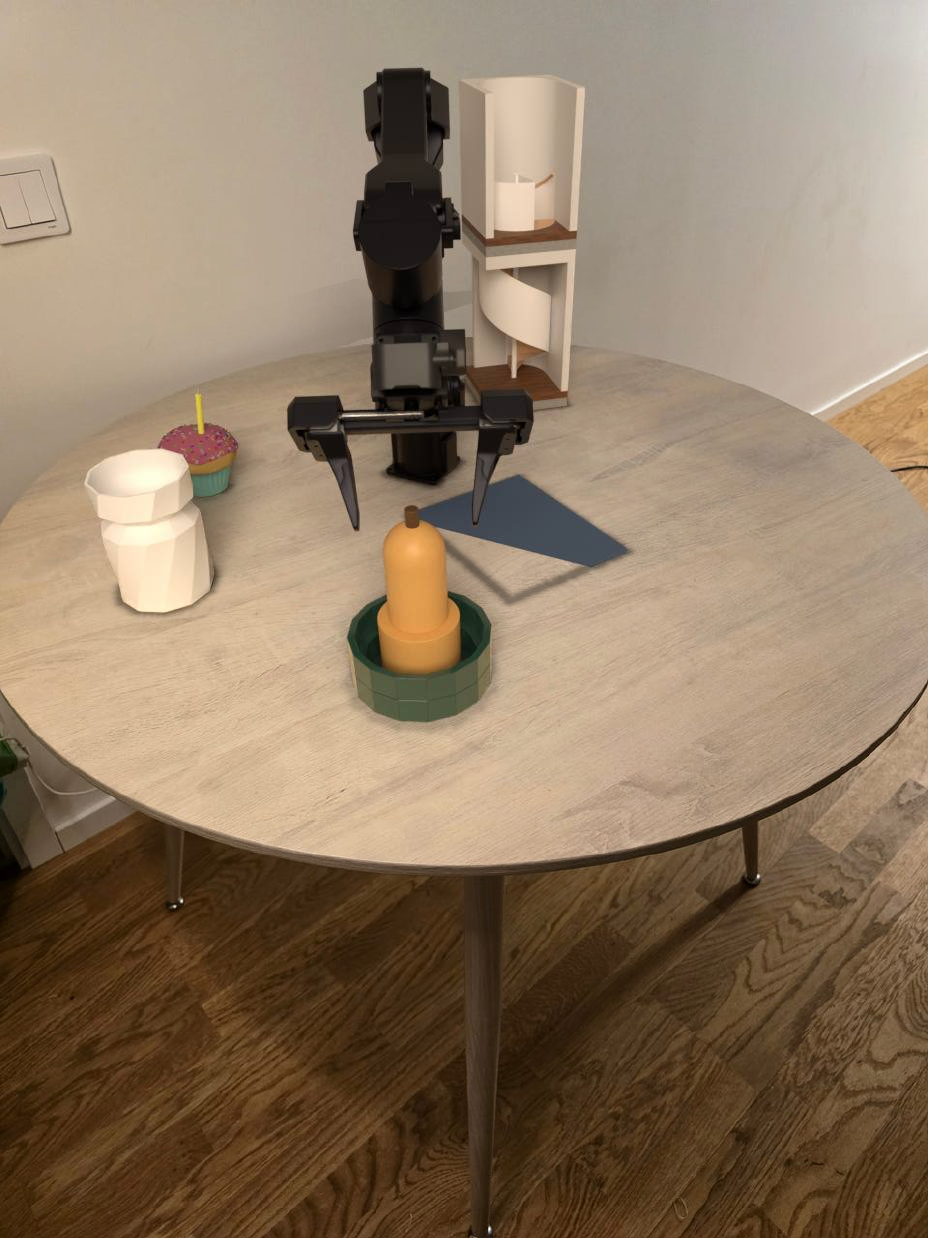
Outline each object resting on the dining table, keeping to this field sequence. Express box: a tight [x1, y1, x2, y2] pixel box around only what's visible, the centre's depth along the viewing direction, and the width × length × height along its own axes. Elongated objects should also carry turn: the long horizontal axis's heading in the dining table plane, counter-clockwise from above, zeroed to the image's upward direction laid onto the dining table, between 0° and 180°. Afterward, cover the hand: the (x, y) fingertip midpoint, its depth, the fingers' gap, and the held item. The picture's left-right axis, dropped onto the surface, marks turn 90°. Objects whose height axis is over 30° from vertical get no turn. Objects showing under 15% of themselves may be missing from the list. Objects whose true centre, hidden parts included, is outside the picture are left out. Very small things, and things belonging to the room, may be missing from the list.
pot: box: [346, 590, 493, 723], centre depth 69 cm, size 11×11×5 cm
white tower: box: [458, 73, 586, 411], centre depth 103 cm, size 11×11×35 cm
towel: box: [419, 474, 628, 568], centre depth 87 cm, size 18×14×1 cm
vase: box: [83, 448, 215, 613], centre depth 78 cm, size 9×9×12 cm
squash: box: [377, 504, 461, 674], centre depth 66 cm, size 6×6×16 cm
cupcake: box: [156, 386, 239, 498], centre depth 92 cm, size 9×8×12 cm
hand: (415, 528), depth 67 cm, fingers open, 9 cm apart
